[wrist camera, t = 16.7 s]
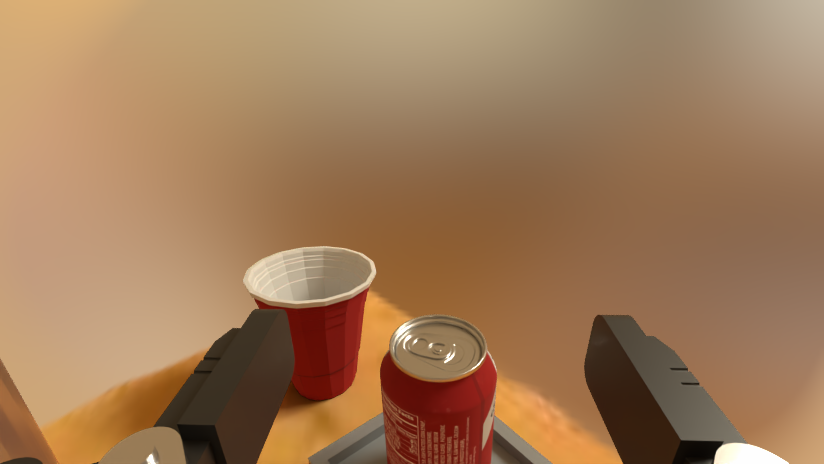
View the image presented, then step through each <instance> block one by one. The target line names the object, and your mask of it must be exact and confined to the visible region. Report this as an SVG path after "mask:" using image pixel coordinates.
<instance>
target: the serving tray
mask: <svg viewBox="0 0 824 464" xmlns="http://www.w3.org/2000/svg"><path fill="white" fill-rule="evenodd" d="M308 459H309V464H387V453H386V440H385V428H384V416H383V412H382V413H381V414H379V415H377V416H376V417H374V418H373V419H371V420H369V421H368V422H366V423H364V424H363V425H361V426H360V427H358V428H356V429H355V430H353V431H351V432H350V433H348V434H347V435H345V436H343V437H342V438H340V439H338V440H337V441H335V442H334V443H332V444H330V445H329V446H327V447H325V448H324V449H322V450H321V451H319V452H317V453H316V454H314V455H312V456H311V457H309V458H308ZM491 464H552V463H551V462H550V461H549V460H547V459H546V458H545V457H544V456H543V455H541V454H540V453H539V452H538V451H537V450H535V449H534V448H533V447H532V446H531V445H529V444H528V443H527V442H526V441H525V440H523V439H522V438H521V437H520V436H519V435H518V434H516V433H515V432H514V431H513V430H512V429H510V428H509V427H508V426H507V425H506V424H504V423H503V422H502V421H501V420H500V419H498V418H497V417H496V416H495V415H494V426H493V441H492V455H491Z"/></svg>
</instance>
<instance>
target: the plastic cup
mask: <svg viewBox="0 0 824 464" xmlns="http://www.w3.org/2000/svg"><path fill="white" fill-rule="evenodd" d="M375 274H376V269H375V266H374V262H373V261H371V260H370V259H369V258H368V257H366V256H365V255H363V254H362V253H359V252H355V251H352V250H349V249H346V248H336V247H326V246H322V247H305V248H304V247H303V248H297V249H293V250H287V251H283V252H279V253H276V254H274V255H271V256H269V257H266V258H263V259H261V260H260V261H258V262H257V263H256V264H254V265H253V266H252V267H250V268H249V269H248V270H247V272H246V274H245V277H244V280H243V283H244V285H245V287H246V288H247V290H248V291H249V293H250V295H251V296H252V297H253V298H254V299H255V302H256V303H257V305H258V307H259V309H284V310H285V311H286V313H287V316H288V321H289V327H290V333H291V338H292V344H293V350H294V356H295V363H294V371H293V376H292V379H291V381H292V383H293V385H294V386H295V388H296V390H298V392H299V394H300V395H302V396H304V397H306V398H307V399H312V400H325V399H331V398H334V397H336V396H338V395H340V394H342V393H344V392H345V391H346V390H347V389H348V388H349V387H350V386H351V385H352V382H353V380H354V378H355V374H356V371H357V362H358V351H359V349H360V341H361V332H362V323H363V314H364V305H365V301H366V297H367V292H368V290H369V285H370V283H371V282H372V280H373V279H374V277H375Z"/></svg>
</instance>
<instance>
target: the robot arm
mask: <svg viewBox="0 0 824 464" xmlns="http://www.w3.org/2000/svg"><path fill="white" fill-rule="evenodd" d="M294 363H295V356H294V350H293V344H292V338H291V333H290V327H289V321H288V316H287V313H286V311H285V310H284V309H255V310H253V311H252V312H251V314H250V315H249V317H248V318H247V320H246V322H245V323H244V324H243V326H242V327H241V328H232V329H231V330H230V331H228V332H227V333H226V334H225V335H223V336H222V337H221V338H219V339H218V340H217V341H215V342H214V344H213V345H212V347H211V348H210V349H209V351H208V352H207V353H206V355H205V356H204V360H203V361H202V360H201V362H200V363H199V364H198V366H197V367H196V369H195V370H194V374H191V375H190V377H189V378H188V380H187V381H186V382H185V384H184V385H183V386H182V388H181V389H180V391H179V392H178V393H177V395H176V396H175V398H174V399H173V400H172V402H171V403H170V404H169V406H168V407H167V409H166V410H165V411H164V413H163V414H162V415H161V417H160V418H159V420H158V421H157V422H156V424H155V425H154V426H153V427H152V428H148V429H144V430H141V431H139V432H136V433H134V434H132V435H130V436H128V437H127V438H125V439H123V440H122V441H120V442H119V443H118V444H116V445H115V446H114V447H113V448H112V449H110V450H109V451H108V452H107V453H106V455H105V456H104V457H103V458H102V459H101V461H100V462H97V463H93V464H256V463H257V461H258V458H259V456H260V453H261V451H262V449H263V446H264V444H265V441H266V439H267V437H268V434H269V432H270V429H271V427H272V425H273V422H274V420H275V417H276V415H277V413H278V410H279V408H280V405H281V403H282V401H283V398H284V396H285V393H286V391H287V389H288V386H289V384H290V381H291V379H292V376H293V371H294ZM584 369H585V378H586V382H587V385H588V388H589V390H590V392H591V394H592V397H593V399H594V401H595V403H596V405H597V408H598V410H599V412H600V414H601V416H602V418H603V421H604V423H605V425H606V427H607V429H608V432H609V434H610V436H611V438H612V440H613V442H614V445H615V447H616V449H617V451H618V453H619V456H620V458H621V460H622V462H623V464H788V463H787V462H785V461H784V460H782V459H781V458H779V457H777V456H776V455H774V454H772V453H770V452H768V451H766V450H763V449H761V448H758V447H755V446H752V445H749V444H747V442H746V441H745V440H744V438H743V437H742V436H741V435H740V433H739V432H738V431H737V430H736V428H735V427H734V426H733V425H732V423H731V422H730V421H729V420H728V418H727V417H726V416H725V414H724V413H723V412H722V411H721V410H720V408H719V407H718V406H717V405H716V403H715V402H714V401H713V399H712V398H711V397H710V396H709V394H708V393H707V392H706V391H705V389H704V388H703V387H700V385H699V382H698V380H697V379H696V378H695V377H694V375H693V374H692V373H691V372H688V368H687V367H686V365H685V364H684V363H683V362H682V360H681V359H680V358H679V356H678V355H677V354H676V353H675V351H673V350H672V349H671V348H669V347H668V346H666V345H665V344H664V343H662V342H661V341H659V340H658V339H657V338H656V337H654V336H646V335H645V334H644V332H643V331H642V330H641V328H640V327H639V325H638V324H637V323H636V321H635V320H634V319H633V318H632V317H631V316H629V315H597V316H596V317H595V319H594V322H593V326H592V331H591V335H590V340H589V344H588V349H587V354H586V358H585V365H584ZM0 464H59V463H58V461H57V459H56V457H55V455H54V454H53V452H52V450H51V448H50V446H49V445H48V443H47V441H46V439H45V438H44V436H43V434H42V432H41V430H40V429H39V427H38V425H37V423H36V421H35V420H34V418H33V416H32V414H31V412H30V411H29V409H28V407H27V405H26V404H25V402H24V400H23V398H22V396H21V395H20V393H19V391H18V389H17V388H16V386H15V384H14V382H13V380H12V379H11V377H10V375H9V373H8V371H7V370H6V368H5V366H4V364H3V362H2V361H1V359H0Z"/></svg>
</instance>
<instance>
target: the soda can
mask: <svg viewBox="0 0 824 464" xmlns="http://www.w3.org/2000/svg"><path fill="white" fill-rule="evenodd" d="M380 379H381V391H382V403H383V416H384V428H385V440H386V453H387V464H491V455H492V441H493V426H494V412H495V397H496V383H497V370H496V366H495V363H494V360H493V358H492V357H491V355H490V353H489V352H488V351H487V344H486V340H485V337H484V335H483V334H482V333H481V331H480V330H479V329H478V328H476V327H475V326H474V325H473V324H471V323H469V322H468V321H465V320H463V319H460V318H458V317H454V316H449V315H426V316H421V317H417V318H414V319H411V320H409V321H407V322H405V323H404V324H402V325H401V326H400V327H398V328H397V329H396V331H395V332H394V333H393V335H392V337H391V339H390V344H389V350H388V351H387V353H386V355H385V356H384V358H383V361H382V364H381V368H380Z"/></svg>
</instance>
